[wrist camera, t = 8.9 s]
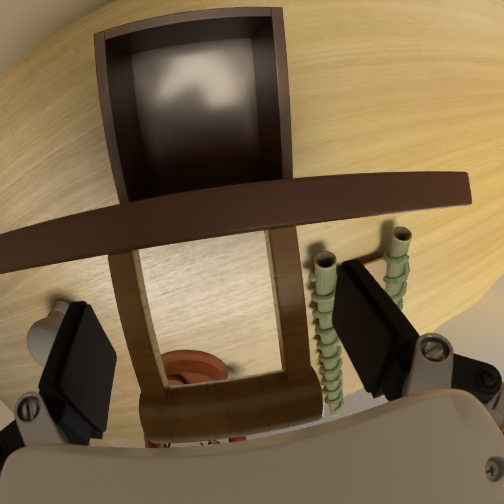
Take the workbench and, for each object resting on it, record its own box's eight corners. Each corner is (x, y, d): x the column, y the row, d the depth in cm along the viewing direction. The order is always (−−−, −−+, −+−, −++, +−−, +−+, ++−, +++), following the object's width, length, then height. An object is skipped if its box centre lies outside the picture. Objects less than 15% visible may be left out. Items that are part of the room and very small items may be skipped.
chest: (124, 50, 20) (93, 33, 12) (257, 32, 21) (282, 7, 14) (146, 198, 28) (129, 238, 20) (268, 181, 29) (293, 214, 22)
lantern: (222, 336, 39) (261, 556, 14) (249, 381, 46) (288, 547, 21) (123, 363, 40) (112, 550, 14) (163, 402, 46) (171, 554, 21)
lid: (-52, 251, 4) (33, 473, 4) (468, 171, 5) (459, 411, 6) (127, 236, 20) (143, 322, 21) (294, 211, 21) (305, 297, 22)
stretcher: (297, 245, 34) (311, 269, 30) (399, 214, 34) (421, 231, 30) (321, 402, 55) (328, 420, 51) (381, 378, 56) (390, 395, 51)
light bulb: (63, 326, 34) (44, 380, 26) (39, 296, 31) (11, 348, 23) (92, 316, 34) (74, 374, 26) (66, 283, 31) (39, 339, 22)
